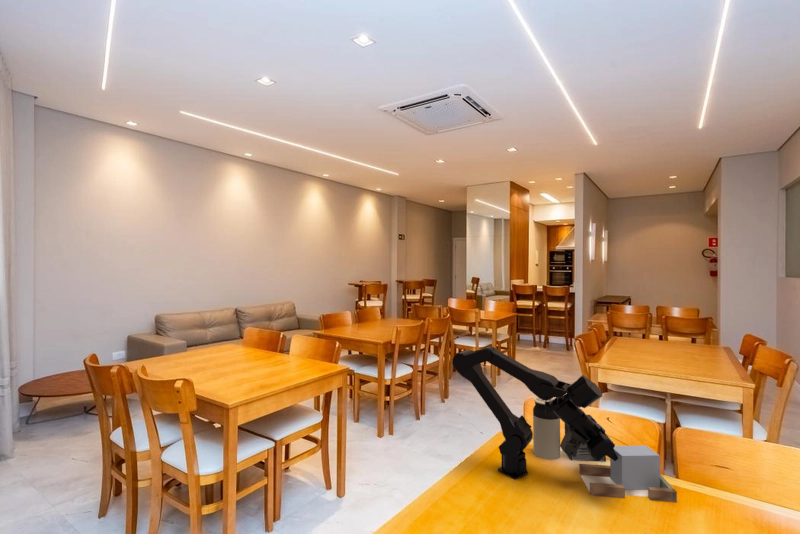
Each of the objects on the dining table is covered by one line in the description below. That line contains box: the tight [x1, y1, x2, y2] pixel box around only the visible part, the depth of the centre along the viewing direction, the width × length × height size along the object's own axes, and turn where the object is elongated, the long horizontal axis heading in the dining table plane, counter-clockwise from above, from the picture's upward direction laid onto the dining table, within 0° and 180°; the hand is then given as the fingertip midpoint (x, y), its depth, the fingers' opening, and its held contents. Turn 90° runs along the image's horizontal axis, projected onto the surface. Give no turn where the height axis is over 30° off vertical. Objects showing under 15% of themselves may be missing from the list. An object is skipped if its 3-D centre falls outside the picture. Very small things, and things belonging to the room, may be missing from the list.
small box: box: [564, 422, 607, 463], centre depth 129 cm, size 11×6×10 cm, turn 84°
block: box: [609, 445, 661, 490], centre depth 112 cm, size 10×6×9 cm, turn 91°
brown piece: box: [578, 463, 678, 503], centre depth 111 cm, size 20×22×4 cm
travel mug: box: [532, 396, 561, 461], centre depth 131 cm, size 8×8×18 cm
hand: (616, 459), depth 111 cm, fingers closed
